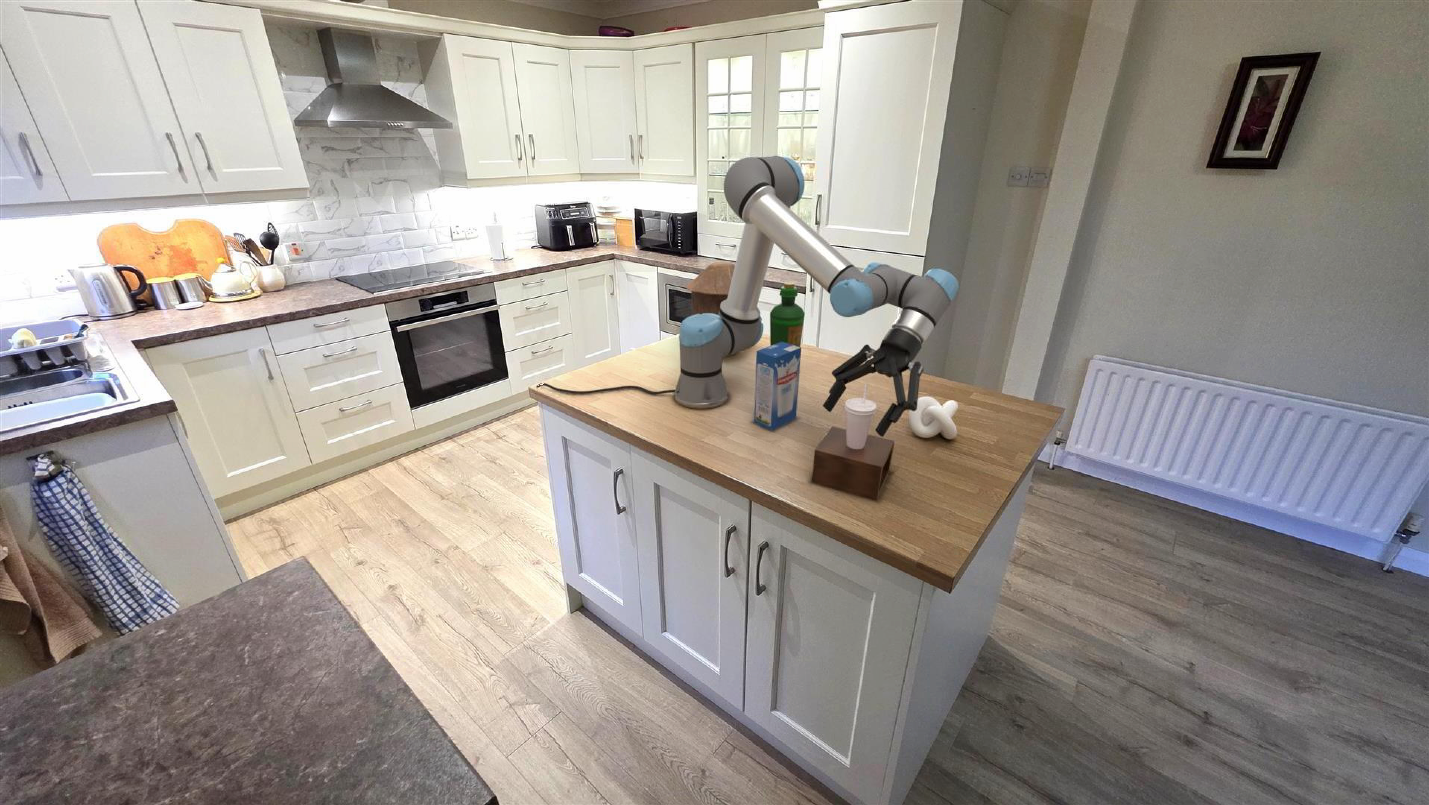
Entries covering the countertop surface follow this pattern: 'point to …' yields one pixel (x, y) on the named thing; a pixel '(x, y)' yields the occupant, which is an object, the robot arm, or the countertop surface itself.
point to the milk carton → (776, 385)
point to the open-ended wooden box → (852, 464)
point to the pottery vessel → (711, 288)
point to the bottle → (787, 318)
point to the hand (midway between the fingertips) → (851, 420)
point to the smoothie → (858, 420)
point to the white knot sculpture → (933, 418)
